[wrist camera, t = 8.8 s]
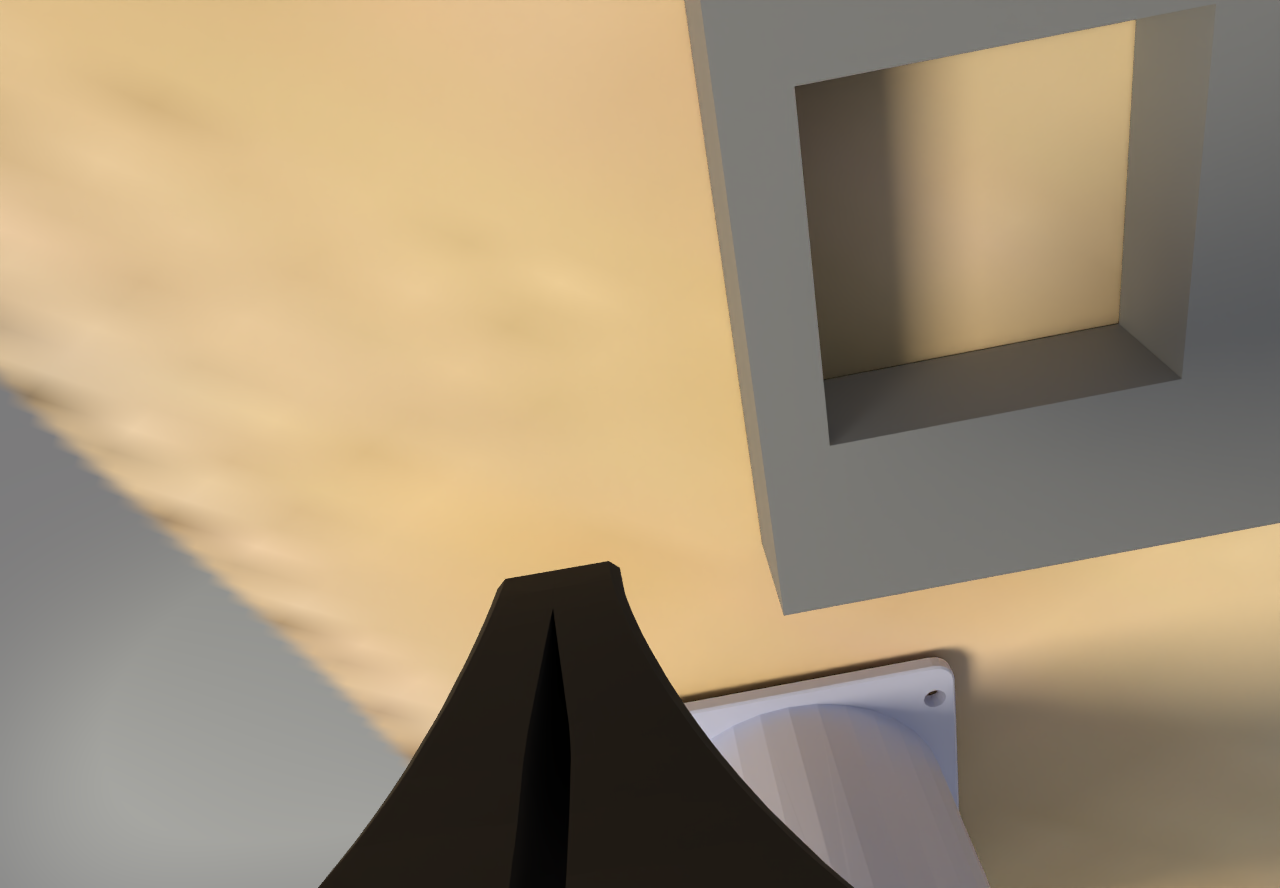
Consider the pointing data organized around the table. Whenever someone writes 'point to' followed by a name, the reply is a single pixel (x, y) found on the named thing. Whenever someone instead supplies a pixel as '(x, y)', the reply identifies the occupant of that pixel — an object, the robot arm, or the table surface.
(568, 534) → the table surface
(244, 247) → the table surface
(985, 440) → the trap deck
